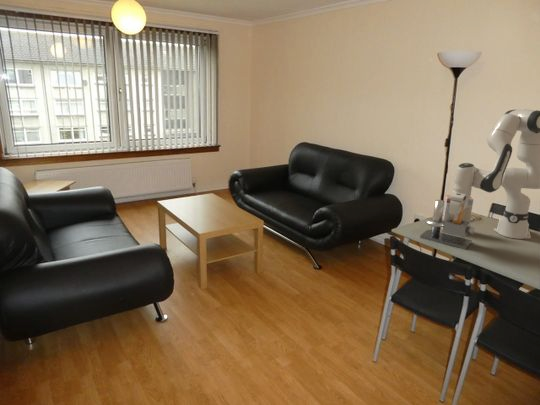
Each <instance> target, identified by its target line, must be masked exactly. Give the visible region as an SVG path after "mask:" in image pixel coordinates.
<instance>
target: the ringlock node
mask: <svg viewBox="0 0 540 405" xmlns="http://www.w3.org/2000/svg"><path fill="white" fill-rule="evenodd" d="M444 205H445V200H442V199H436V200H435V201H434V208H433V215H432V217H427V218H426V219H425V220H424V221H425V224H426V225H428V226H431V229H427V230H426V231H424V232H422V233H421V234H420V235H419V238H420V239H423V238H425V240H427V239H428V241H431V240H432V242H436V243H440V244H442V245H448V246H451V247H455V248H459V249H461V250H467V248H469V246H471V244H472V243H473V239H468V238H465V237H466V236H467V235H469V234H471V235H474V233H475V229H476V228H475V227H474V226H471V225H472V224H471V223H472V221H470V222H469V221H465V220H462V223H461V224H459V223H454V222H452V219H453V218H451V217H450V218H448V219H447V220H443V212H444ZM441 227H443V231H442V232H441V230H442V229H441Z"/></svg>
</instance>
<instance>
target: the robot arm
mask: <svg viewBox="0 0 540 405" xmlns="http://www.w3.org/2000/svg"><path fill="white" fill-rule="evenodd" d="M517 131H518V132H521V133H520V136H519V140H518V146H517V149H516V150H517V151H516V158H517V159H518V160H519V161H521V162H522V163H524V164H525V167H524V168H521V167H507V166H508V165H509V162H510V159H511V158H512V157H511V156H512V153H513V147H512V141H513V139H514V137H515V136H516V134H517ZM486 142H487V145H488V146H489V147H490V149H492V150H493V151H494V152H496V154H497V157H496V160H495V162H494V165H493V168H492V170H491V171H487V170H483V169H480V168H477V167H476V166H475V165H474V164H473V163H470V162H464V163H460V164H458V166H457V167H456V171H455V174H454V184H453V187H452V190H451V194H450V195H451V196H450V199H451V202H450V214H452V215H454V220H458V215H459V213H460V212H461V211H462V205H463V204H465V205H464V209H465V208H466V207H467V205H468V199H470V197H472V195H471V194H472V189H473V188H476V189H479V190H482V191H484V192H486V193H493V192H496V191H497V190H499V189H500V188H501V187H503V189H504V190H505V192H506V193H505V194H506V197H507V198H506V203H505V204H506V206H505V209H504V211H503V216H501V217H500V218H498V219H499V220H498V223H497V227H494V228H493V231H494V232H496V233H497V234H499V235H500V236H503V237H505V238H506V237H507V238H511V239H519V240H522V239H524V240H525V239H526V240H529V239H532V237H531V232H530V229H529V226H530V224H529V222H528V218H529V214H530V213H529V210H530V206H531V199H530V198H529V196H528V195H526V194H525V193H522V189H529V190H530V189H531V190H540V110H538V109H537V110H533V109H511V110H508V111H506V112H505V113H504V114H502V115H501V117H500V118H499V119H498V120H497V121H496V123H495V124H494V126H492V129H491V130H490V132H489V134H488V135H487V138H486ZM472 187H473V188H472Z"/></svg>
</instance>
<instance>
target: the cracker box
mask: <svg viewBox="0 0 540 405" xmlns="http://www.w3.org/2000/svg"><path fill="white" fill-rule="evenodd" d="M450 196H451V194H450V195H449V194H447V195H445V199H444V201H445V204H444V211H443V217H442V219H443V220H447V219H448V218H450V217H451V218H453V215H452V214H450V202H451V199H450ZM473 206H474V198H473V197H472V196H470V199H468V205H467V207H466V208H465V209H464V211H463V217H462V220H465V221H469V222H471V217H472V211H473ZM441 230H442V232H443V227H441Z"/></svg>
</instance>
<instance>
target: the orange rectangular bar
mask: <svg viewBox="0 0 540 405" xmlns="http://www.w3.org/2000/svg"><path fill="white" fill-rule="evenodd" d="M464 205H465V204H463V205H462V211H461V212H460V213H459V215H458V220H454V215H453V219H452V222H454V223H459V224H461V223H462V217H463V211H464Z"/></svg>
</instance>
